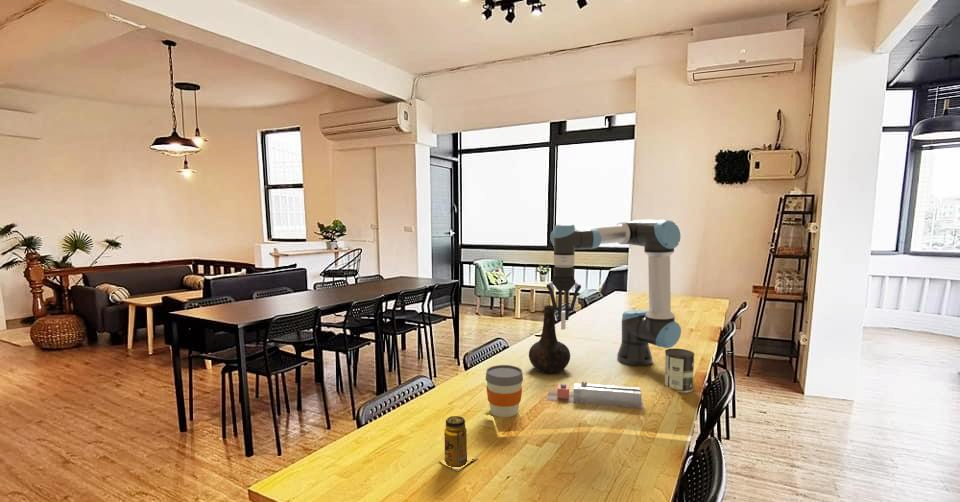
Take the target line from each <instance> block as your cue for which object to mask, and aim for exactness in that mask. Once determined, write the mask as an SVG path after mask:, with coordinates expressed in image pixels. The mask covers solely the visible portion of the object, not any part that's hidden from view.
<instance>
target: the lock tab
mask: <svg viewBox="0 0 960 502" xmlns="http://www.w3.org/2000/svg"><path fill="white" fill-rule="evenodd" d="M556 391H557V398H563V399H569V392H570V385H569V384H566V383H561V384H557V389H556Z"/></svg>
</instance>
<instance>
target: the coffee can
mask: <svg viewBox="0 0 960 502" xmlns="http://www.w3.org/2000/svg"><path fill="white" fill-rule="evenodd" d="M664 353H665V356H664V357H665V359H664V360H665V361H664V362H665V363H664V365H665V367H664V386H667V387H669V388H672V389H676V391H677V392H678V393H681V394H682V393H683V394H686V393H692V392H693V391H694V366H695V365H694V364H695V363H694V362H695V353H694V352H693V351H691V350H689V349H688V350H687V349H684V348H675V347H674V348H666V349H665V351H664Z"/></svg>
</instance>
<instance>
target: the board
mask: <svg viewBox="0 0 960 502" xmlns="http://www.w3.org/2000/svg"><path fill="white" fill-rule="evenodd" d="M573 395H574V392H571V391H569V399H563V398H557V390H548V392H547V396H546V401H551V402H563V403H573V404H576V403H575V402H573ZM643 402H644V401H643V400H642V398H641V408H634V407H625V408H626V409H627V408H628V409H637V410H639V409H641V410H645V406H644V403H643ZM581 404H584V405H585V404H586V405H591V404H590V403H581ZM592 405H596V406H602V405H601V404H592ZM603 406H605V407H613V406H612V405H603ZM614 407H615V408H624V407H623V406H614Z"/></svg>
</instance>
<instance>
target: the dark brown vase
mask: <svg viewBox="0 0 960 502" xmlns="http://www.w3.org/2000/svg"><path fill="white" fill-rule="evenodd" d="M541 311H542V312H544V313H543V324H542V331H541V337H540V339H539V340H538V341H536V342H535V343H534V344H532V346H530V348H529V351H528V358H529V361H530V364H531V365H532V366H533V368H534V369H536V370H537V371H538V372H541V373H544V374H545V373H546V374H555V373H560V372H561V371H563V370H564V369H565V368H567V366H568V364H569V363H570V360H571V353H570V349H569V347H568V346H567V345H565V343H563V342H561V341H559V340H558V338H557V334H556V323H555V320H556V319H555V313H556V312H557V310H554V309H553V305H552V304H551V305H549V304H548V305H544V306H543V309H542V310H541Z"/></svg>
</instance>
